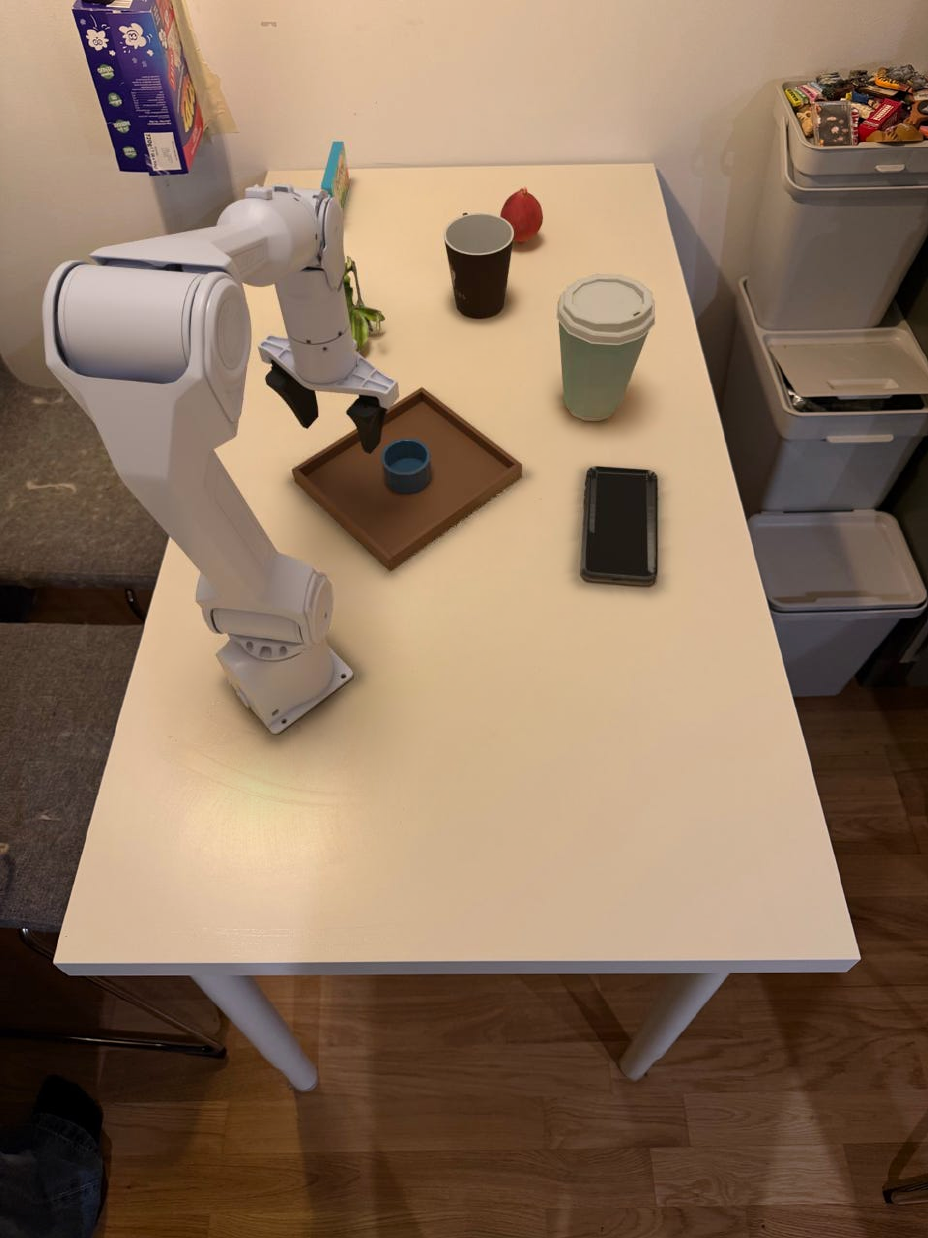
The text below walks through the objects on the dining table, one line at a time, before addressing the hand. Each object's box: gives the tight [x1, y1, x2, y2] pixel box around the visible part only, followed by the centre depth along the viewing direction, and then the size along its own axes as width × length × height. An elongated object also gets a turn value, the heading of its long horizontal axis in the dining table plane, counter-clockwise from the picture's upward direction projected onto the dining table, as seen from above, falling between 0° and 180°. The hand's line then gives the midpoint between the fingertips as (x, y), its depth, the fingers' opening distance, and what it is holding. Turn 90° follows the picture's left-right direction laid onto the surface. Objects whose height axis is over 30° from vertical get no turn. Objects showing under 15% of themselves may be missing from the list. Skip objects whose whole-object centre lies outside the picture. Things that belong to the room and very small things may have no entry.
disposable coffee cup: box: [555, 273, 656, 422], centre depth 94 cm, size 11×11×15 cm
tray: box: [291, 386, 523, 572], centre depth 94 cm, size 19×17×2 cm
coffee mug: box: [443, 212, 514, 320], centre depth 108 cm, size 12×9×10 cm
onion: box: [499, 186, 544, 244], centre depth 115 cm, size 6×6×8 cm
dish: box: [381, 438, 432, 494], centre depth 93 cm, size 5×5×3 cm
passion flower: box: [342, 255, 386, 353], centre depth 105 cm, size 11×11×12 cm
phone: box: [579, 465, 659, 587], centre depth 90 cm, size 8×1×15 cm
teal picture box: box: [320, 141, 350, 211], centre depth 122 cm, size 12×2×6 cm, turn 176°
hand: (341, 434), depth 86 cm, fingers open, 7 cm apart
